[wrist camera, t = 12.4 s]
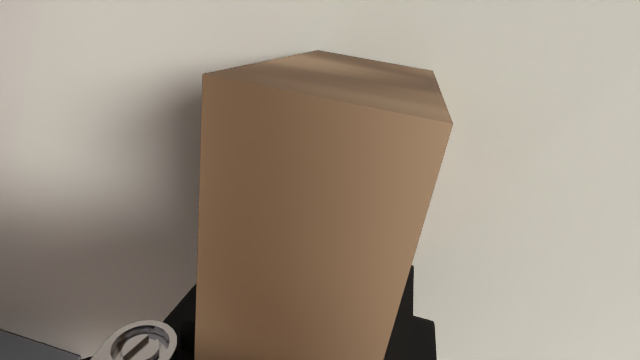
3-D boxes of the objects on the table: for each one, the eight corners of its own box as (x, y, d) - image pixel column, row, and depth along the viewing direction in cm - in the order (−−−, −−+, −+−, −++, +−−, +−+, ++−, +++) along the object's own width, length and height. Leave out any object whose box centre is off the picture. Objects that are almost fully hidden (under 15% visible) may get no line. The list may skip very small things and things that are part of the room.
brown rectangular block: (433, 71, 10) (453, 124, 4) (348, 397, 14) (305, 622, 9) (318, 50, 10) (202, 73, 5) (272, 373, 15) (188, 573, 9)
